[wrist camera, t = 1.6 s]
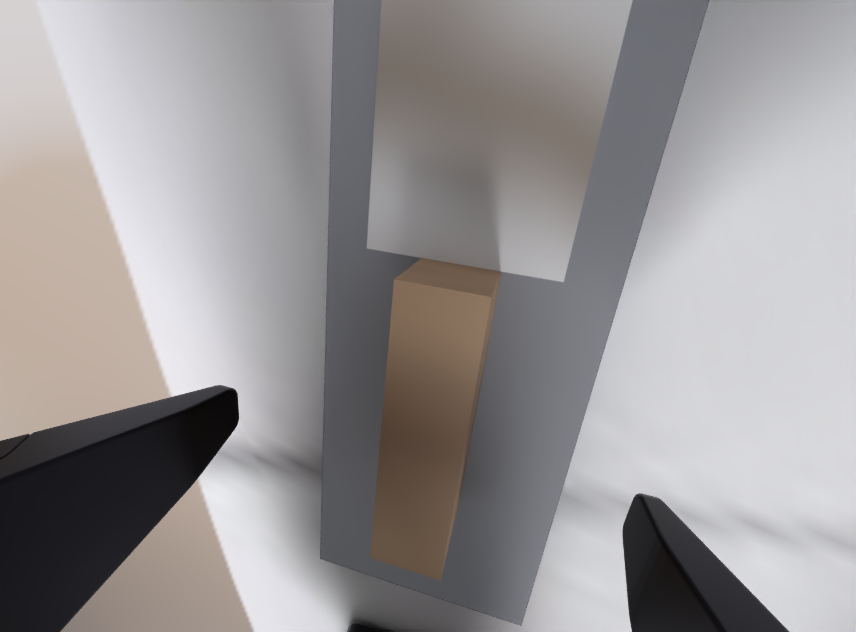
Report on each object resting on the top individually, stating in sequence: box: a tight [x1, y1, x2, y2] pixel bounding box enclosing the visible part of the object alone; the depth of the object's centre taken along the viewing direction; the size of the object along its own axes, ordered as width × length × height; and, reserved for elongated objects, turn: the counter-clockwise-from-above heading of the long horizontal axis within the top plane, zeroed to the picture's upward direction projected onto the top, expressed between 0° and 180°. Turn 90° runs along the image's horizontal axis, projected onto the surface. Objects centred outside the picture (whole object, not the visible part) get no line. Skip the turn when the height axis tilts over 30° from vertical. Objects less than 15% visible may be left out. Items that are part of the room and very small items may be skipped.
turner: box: [367, 0, 633, 580], centre depth 10 cm, size 14×5×3 cm, turn 173°
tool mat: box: [320, 0, 709, 626], centre depth 12 cm, size 22×8×1 cm, turn 173°
